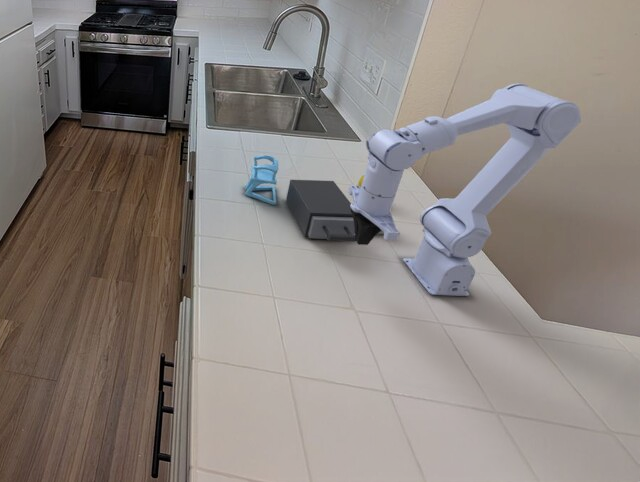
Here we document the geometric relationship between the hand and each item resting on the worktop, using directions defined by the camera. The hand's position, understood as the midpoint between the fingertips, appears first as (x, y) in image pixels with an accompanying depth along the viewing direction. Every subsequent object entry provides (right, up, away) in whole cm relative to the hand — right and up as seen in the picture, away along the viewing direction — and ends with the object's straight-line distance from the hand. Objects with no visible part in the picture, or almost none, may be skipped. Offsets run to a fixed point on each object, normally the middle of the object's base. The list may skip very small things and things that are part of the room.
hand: (361, 242), depth 80 cm
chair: (-11, +2, +30) cm, 32 cm away
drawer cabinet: (+1, -2, +20) cm, 20 cm away
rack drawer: (0, -2, +16) cm, 16 cm away
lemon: (+19, +2, +29) cm, 35 cm away
